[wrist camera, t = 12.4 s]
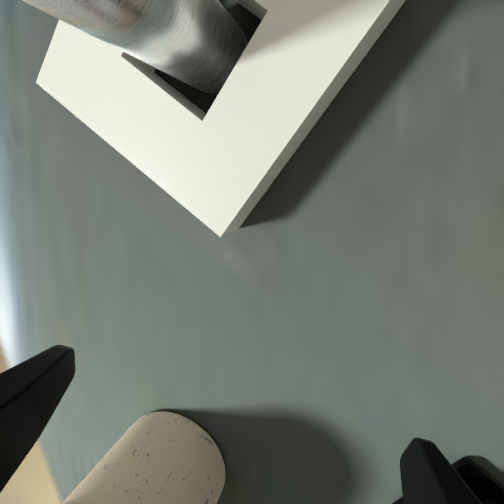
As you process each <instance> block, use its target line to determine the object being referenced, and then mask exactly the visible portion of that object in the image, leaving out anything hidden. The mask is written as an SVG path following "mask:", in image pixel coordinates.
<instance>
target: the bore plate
mask: <svg viewBox="0 0 504 504" xmlns="http://www.w3.org/2000/svg"><path fill="white" fill-rule="evenodd" d="M235 1H237V2H238V3H239V4H241V5H242V6H243V7H245V8H246V9H247V10H249V11H250V12H251V13H253V14H254V15H255V16H257V17H258V18H259V19H261V20H262V21H261V23H260V25H259V26H258V28H257V30H256V31H255V33H254V35H253V36H252V38H251V40H250V41H249V43H248V45H247V47H246V48H245V50H244V52H243V53H242V55H241V57H240V58H239V60H238V62H237V63H236V65H235V67H234V68H233V70H232V72H231V74H230V75H229V77H228V79H227V80H226V82H225V84H224V85H223V87H222V89H221V90H220V92H219V94H218V96H217V97H216V99H215V101H214V102H213V104H212V106H211V107H210V109H209V111H208V112H207V114H206V113H205V112H203V111H202V110H201V109H200V108H198V107H197V106H196V105H195V104H193V103H192V102H191V101H190V100H188V99H187V98H186V97H185V96H183V95H182V94H181V93H180V92H178V91H177V90H176V89H175V88H173V87H172V86H171V85H170V84H168V83H167V82H166V81H165V80H163V79H162V78H161V77H160V76H158V75H157V74H156V73H154V71H155V69H156V68H155V67H153V66H151V65H149V64H147V63H145V62H143V61H141V60H139V59H137V58H135V57H133V56H131V55H129V54H127V53H125V52H123V51H121V50H119V49H117V48H115V47H113V46H111V45H109V44H107V43H105V42H103V41H101V40H99V39H97V38H95V37H93V36H91V35H89V34H88V33H86V32H84V31H82V30H80V29H78V28H76V27H74V26H72V25H70V24H68V23H66V22H64V21H62V20H60V19H59V22H58V25H57V27H56V30H55V33H54V35H53V38H52V41H51V43H50V46H49V49H48V51H47V54H46V57H45V60H44V62H43V65H42V68H41V70H40V73H39V76H38V78H37V81H36V83H37V84H38V85H39V86H41V87H42V88H43V89H44V90H45V91H47V92H48V93H49V94H50V95H51V96H53V97H54V98H55V99H56V100H57V101H59V102H60V103H61V104H62V105H63V106H65V107H66V108H67V109H68V110H69V111H71V112H72V113H73V114H74V115H75V116H76V117H78V118H79V119H80V120H81V121H82V122H84V123H85V124H86V125H87V126H88V127H90V128H91V129H92V130H93V131H94V132H96V133H97V134H98V135H99V136H100V137H102V138H103V139H104V140H105V141H106V142H108V143H109V144H110V145H111V146H112V147H113V148H115V149H116V150H117V151H118V152H119V153H121V154H122V155H123V156H124V157H125V158H127V159H128V160H129V161H130V162H131V163H133V164H134V165H135V166H136V167H137V168H139V169H140V170H141V171H142V172H143V173H145V174H146V175H147V176H148V177H149V178H150V179H152V180H153V181H154V182H155V183H156V184H158V185H159V186H160V187H161V188H162V189H164V190H165V191H166V192H167V193H168V194H170V195H171V196H172V197H173V198H174V199H176V200H177V201H178V202H179V203H180V204H182V205H183V206H184V207H185V208H186V209H187V210H189V211H190V212H191V213H192V214H193V215H195V216H196V217H197V218H198V219H199V220H201V221H202V222H203V223H204V224H205V225H207V226H208V227H209V228H210V229H211V230H213V231H214V232H215V233H216V234H217V235H219V236H220V237H222V236H224V235H226V234H228V233H230V232H232V231H234V230H237V229H239V228H240V226H241V225H242V224H243V222H244V221H245V219H246V218H247V217H248V215H249V214H250V213H251V211H252V210H253V209H254V207H255V206H256V204H257V203H258V202H259V200H260V199H261V198H262V196H263V195H264V194H265V192H266V191H267V189H268V188H269V187H270V185H271V184H272V183H273V181H274V180H275V178H276V177H277V176H278V174H279V173H280V172H281V170H282V169H283V168H284V166H285V165H286V163H287V162H288V161H289V159H290V158H291V157H292V155H293V154H294V153H295V151H296V150H297V148H298V147H299V146H300V144H301V143H302V142H303V140H304V139H305V138H306V136H307V135H308V133H309V132H310V131H311V129H312V128H313V127H314V125H315V124H316V122H317V121H318V120H319V118H320V117H321V116H322V114H323V113H324V112H325V110H326V109H327V107H328V106H329V105H330V103H331V102H332V101H333V99H334V98H335V97H336V95H337V94H338V92H339V91H340V90H341V88H342V87H343V86H344V84H345V83H346V82H347V80H348V79H349V77H350V76H351V75H352V73H353V72H354V71H355V69H356V68H357V67H358V65H359V64H360V62H361V61H362V60H363V58H364V57H365V56H366V54H367V53H368V51H369V50H370V49H371V47H372V46H373V45H374V43H375V42H376V41H377V39H378V38H379V36H380V35H381V34H382V32H383V31H384V30H385V28H386V27H387V26H388V24H389V23H390V21H391V20H392V19H393V17H394V16H395V15H396V13H397V12H398V11H399V9H400V8H401V6H402V5H403V4H404V2H405V1H406V0H235Z"/></svg>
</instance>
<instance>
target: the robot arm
mask: <svg viewBox="0 0 504 504" xmlns="http://www.w3.org/2000/svg"><path fill="white" fill-rule="evenodd" d="M74 374H75V353H74V350H73V348H71V347H67V346H63V345H55V346H53V347H51V348H49V349H47V350H45V351H43V352H41V353H39V354H37V355H36V356H34V357H32V358H30V359H28V360H26V361H24V362H22V363H20V364H18V365H16V366H14V367H12V368H10V369H8V370H6V371H4V372H2V373H1V374H0V492H1V491H2V490H3V488H4V487H5V485H6V484H7V482H8V481H9V480H10V478H11V477H12V475H13V474H14V472H15V471H16V470H17V468H18V467H19V465H20V464H21V463H22V461H23V460H24V458H25V457H26V455H27V454H28V452H29V451H30V450H31V448H32V447H33V445H34V444H35V443H36V441H37V440H38V438H39V437H40V435H41V433H42V432H43V430H44V428H45V427H46V425H47V423H48V421H49V420H50V418H51V416H52V414H53V413H54V411H55V409H56V407H57V406H58V404H59V402H60V400H61V399H62V397H63V395H64V393H65V392H66V390H67V388H68V386H69V385H70V383H71V381H72V379H73V377H74ZM465 468H471V469H465ZM400 471H401V482H402V493H403V497H402V498H400V499H399V500H397V501H396V502H394V503H392V504H504V486H502V485H501V484H500V483H499V482H498V481H496V480H495V479H494V478H493V477H492V476H490V475H489V474H488V473H487V472H486V471H485V470H483V469H482V468H481V467H480V466H479V465H477V464H476V463H475V462H474V461H472V460H471V459H467V458H464V459H460V460H459V461H457V462H456V463H454V464H452V465H451V464H450V463H449V462H448V460H447V459H446V458H445V457H444V455H443V454H442V453H441V451H440V450H439V449H438V448H437V446H436V445H435V444H434V443H433V442H431V441H429V440H425V439H421V438H414V439H413V440H412V441H411V443H410V444H409V445H408V447H407V448H406V450H405V451H404V452H403V454H402V456H401V459H400Z"/></svg>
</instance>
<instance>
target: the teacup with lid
mask: <svg viewBox="0 0 504 504" xmlns="http://www.w3.org/2000/svg"><path fill="white" fill-rule="evenodd" d="M224 483H225V465H224V461H223V458H222V455H221V453H220V451H219V449H218V447H217V445H216V444H215V442H214V441H213V439H212V438H211V437H210V436H209V434H208V433H207V432H206V431H205V430H204V429H202V428H201V427H200V426H199V425H197V424H196V423H195V422H193V421H192V420H190V419H188V418H186V417H184V416H182V415H179V414H176V413H172V412H164V411H160V412H152V413H148V414H146V415H144V416H142V417H140V418H139V419H138V420H136V421H135V423H134V424H133V425H132V426H131V427H130V428H129V429H128V430H127V431H126V432H125V434H124V435H123V436H122V437H121V438H120V439H119V440H118V441H117V443H116V444H115V445H114V446H113V447H112V448H111V449H110V450H109V452H108V453H107V454H106V455H105V456H104V457H103V458H102V459H101V460H100V462H99V463H98V464H97V465H96V466H95V467H94V468H93V469H92V471H91V472H90V473H89V474H88V475H87V476H86V477H85V478H84V479H83V481H82V482H81V483H80V484H79V485H78V486H77V487H76V488H75V490H74V491H73V492H72V493H71V494H70V495H69V496H68V497H67V498H66V500H65V501H64V502H63V503H62V504H217V502H218V499H219V497H220V495H221V492H222V490H223V487H224Z"/></svg>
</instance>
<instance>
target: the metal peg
mask: <svg viewBox="0 0 504 504" xmlns="http://www.w3.org/2000/svg"><path fill="white" fill-rule="evenodd" d="M22 1H24V2H26V3H28V4H30V5H32V6H34V7H36V8H38V9H40V10H42V11H44V12H46V13H48V14H50V15H52V16H54V17H56V18H58V19H60V20H62V21H64V22H66V23H68V24H70V25H72V26H74V27H76V28H78V29H80V30H82V31H84V32H86V33H88V34H89V35H91V36H93V37H95V38H97V39H99V40H101V41H103V42H105V43H107V44H109V45H111V46H113V47H115V48H117V49H119V50H121V51H123V52H125V53H127V54H129V55H131V56H133V57H135V58H137V59H139V60H141V61H143V62H145V63H147V64H149V65H151V66H153V67H155V68H157V69H159V70H161V71H163V72H165V73H167V74H169V75H170V76H172V77H174V78H176V79H178V80H180V81H182V82H184V83H186V84H188V85H190V86H192V87H194V88H196V89H198V90H200V91H202V92H205V93H208V94H219V92H220V90H221V89H222V87H223V85H224V84H225V82H226V80H227V79H228V77H229V75H230V74H231V72H232V70H233V68H234V67H235V65H236V63H237V62H238V60H239V58H240V57H241V55H242V53H243V52H244V50H245V48H246V47H247V45H248V43H247V39H246V36H245V34H244V32H243V30H242V28H241V27H240V26H239V24H238V23H237V22H236V21H235V20H234V18H233V17H232V16H231V15H230V14H229V12H228V11H227V10H226V9H225V8H224V6H223V5H222V4H221V3H220V1H219V0H22Z"/></svg>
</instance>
